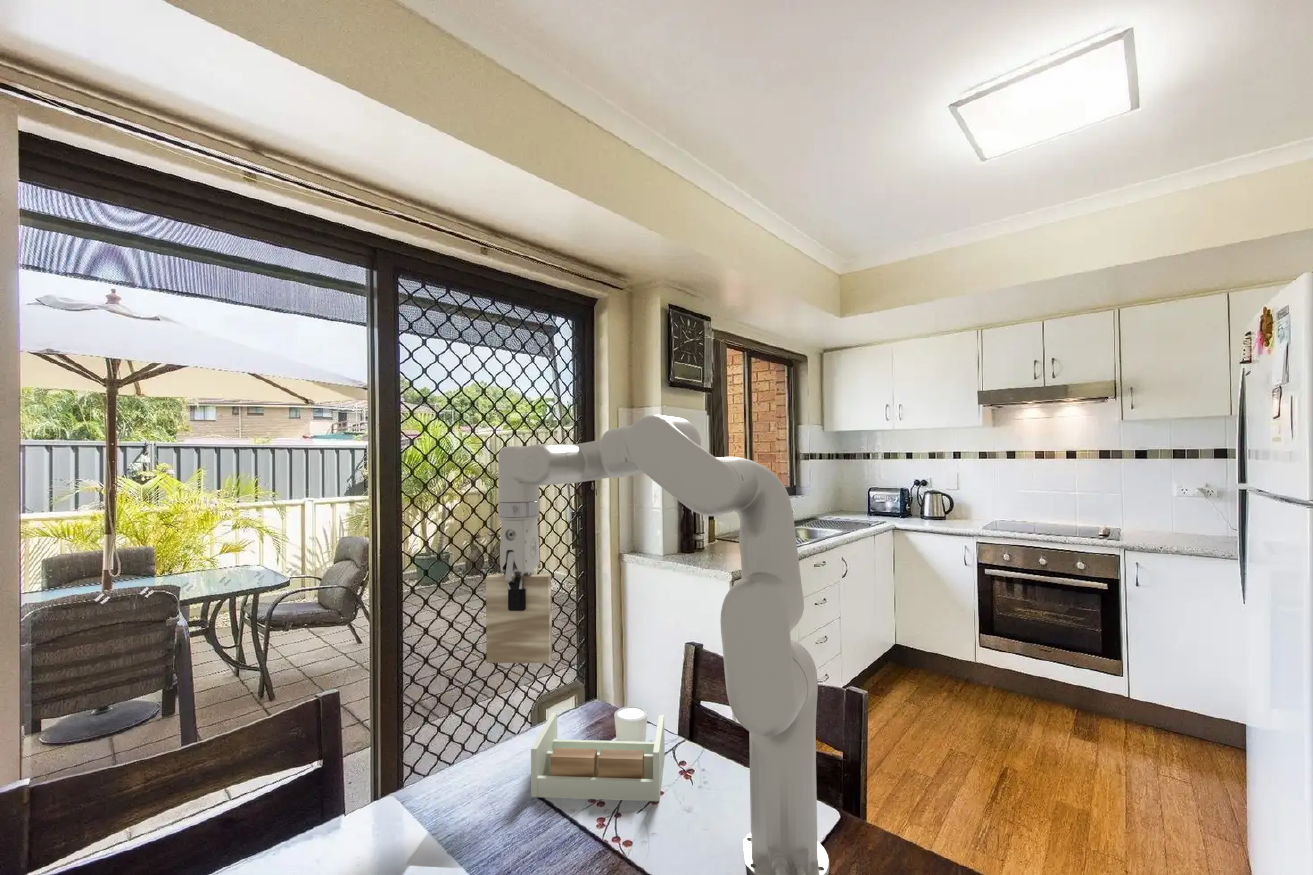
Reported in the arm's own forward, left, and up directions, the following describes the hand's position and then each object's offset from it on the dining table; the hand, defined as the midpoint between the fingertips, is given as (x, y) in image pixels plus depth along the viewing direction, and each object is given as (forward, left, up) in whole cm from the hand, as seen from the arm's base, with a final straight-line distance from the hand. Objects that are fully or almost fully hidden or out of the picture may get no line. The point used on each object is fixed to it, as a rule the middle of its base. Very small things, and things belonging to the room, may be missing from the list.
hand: (519, 607), depth 107 cm
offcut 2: (-6, -20, -30) cm, 36 cm away
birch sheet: (0, 0, -10) cm, 10 cm away
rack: (-2, -16, -31) cm, 35 cm away
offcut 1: (-6, -12, -30) cm, 32 cm away
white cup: (+11, -20, -31) cm, 39 cm away
